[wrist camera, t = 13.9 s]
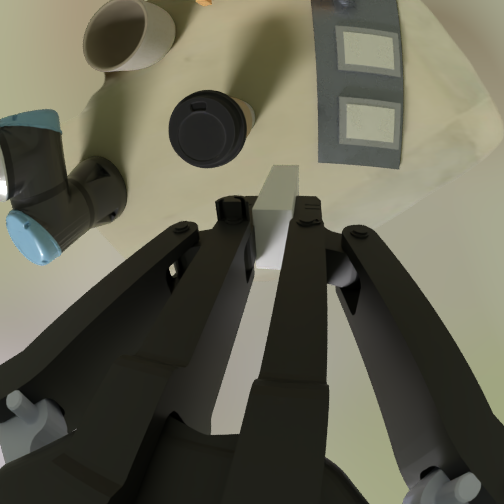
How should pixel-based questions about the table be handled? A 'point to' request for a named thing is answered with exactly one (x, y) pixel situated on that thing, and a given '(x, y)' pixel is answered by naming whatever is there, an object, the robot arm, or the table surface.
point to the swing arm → (204, 2)
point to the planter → (128, 36)
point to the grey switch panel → (358, 82)
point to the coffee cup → (210, 128)
